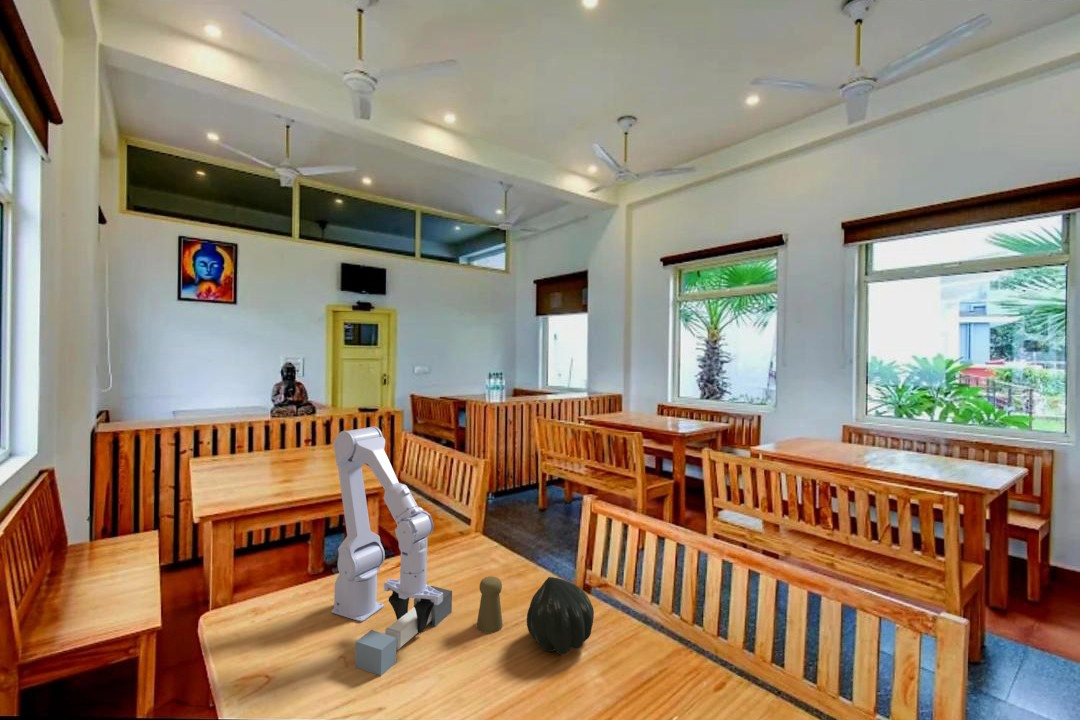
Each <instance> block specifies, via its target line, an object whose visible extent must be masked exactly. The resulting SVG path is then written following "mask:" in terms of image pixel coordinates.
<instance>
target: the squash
mask: <svg viewBox="0 0 1080 720" xmlns="http://www.w3.org/2000/svg"><path fill="white" fill-rule="evenodd" d="M594 611H595V610H594V607H593V603H592V602H591V600H590V598H589V596H588V595H587V593H586V592H585V591H584V590H583V589H582V588H581V587H579V586H578V585H577V584H575V583H572V582H570V581H567V580H564V579H562V578H559V577H553V576H552V577H551V576H548V577H547V579H545V580H544V582H543V583H542V585H541V586H540V588H538V589H537V591H535V593H534V595H533V596H532V598H531V600H530V604H529V607H528V610H527V613H526V628H527V630H528V633H529V634H530V636H531V637H532V639H534V640H535V641H536V642H537V643H538V645H539V646H540V647H541V648H542V650H544V651H546V652H553V651H555V652H556V653H557V654H559V655H566V654H567V653H568V652H569V651H570V649H574V650H578V649H580V648H582V646H583V644H584V642H586V641H587V640H589V638H590V636H591V635H592V629H593V624H594V618H595V617H594V616H595V614H594V613H595V612H594Z"/></svg>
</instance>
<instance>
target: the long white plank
mask: <svg viewBox="0 0 1080 720" xmlns="http://www.w3.org/2000/svg"><path fill="white" fill-rule="evenodd" d="M431 621H432V610H431V613H430V615H429V618H428V622H427V624H428V623H429V622H431ZM384 634H387V635H390V636H393V637H396V638H397V639H396V650H400V649H401V648H402V647H403V646H404V645H405V644H406V643H408V642H409V641H410V640H411V639H412V638H413V637H414V636H416V635H417V634H419V633H418V630H417V614H416V610H415V607H414V606H413V607H412V608H411V609H410V610H408V612H407V613H406V614H405V615H403V616H402V617H401V618H400V619H398V620H397V619H396V620H395V622H393V623H392V624H391V625H389V626H388V627H386V628H385V632H384Z"/></svg>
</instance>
